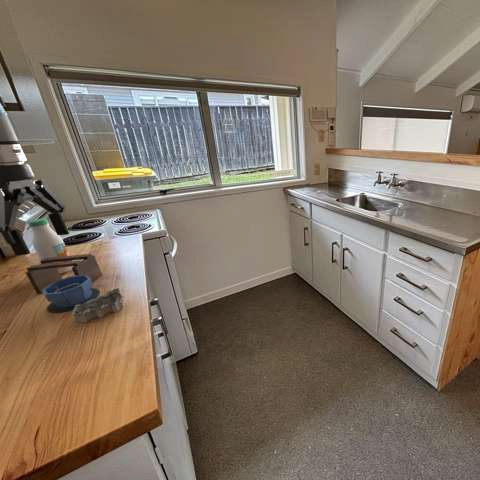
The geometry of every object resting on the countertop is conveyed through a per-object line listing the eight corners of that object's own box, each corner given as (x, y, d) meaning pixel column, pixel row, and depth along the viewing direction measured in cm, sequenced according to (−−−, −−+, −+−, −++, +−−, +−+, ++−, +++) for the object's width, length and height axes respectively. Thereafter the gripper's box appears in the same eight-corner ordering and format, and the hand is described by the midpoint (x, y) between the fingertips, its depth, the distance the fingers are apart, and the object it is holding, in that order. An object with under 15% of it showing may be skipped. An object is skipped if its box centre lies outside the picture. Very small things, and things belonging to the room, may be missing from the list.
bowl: (41, 312, 73) (32, 296, 71) (68, 291, 82) (60, 277, 80) (81, 307, 74) (73, 291, 72) (103, 287, 83) (96, 273, 81)
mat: (35, 315, 72) (35, 314, 72) (67, 291, 83) (67, 290, 83) (83, 309, 73) (82, 308, 73) (108, 286, 84) (107, 286, 84)
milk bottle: (56, 277, 92) (29, 224, 84) (43, 274, 94) (15, 223, 87) (80, 266, 99) (57, 217, 91) (67, 264, 101) (44, 216, 93)
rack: (37, 294, 82) (23, 269, 79) (58, 279, 90) (47, 256, 87) (85, 288, 84) (74, 264, 80) (102, 274, 92) (92, 252, 89)
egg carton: (125, 298, 78) (120, 286, 77) (124, 311, 72) (119, 298, 71) (79, 311, 73) (73, 299, 71) (74, 326, 67) (67, 313, 65)
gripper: (-32, 169, 52) (19, 262, 60) (62, 158, 74) (89, 227, 83) (-76, 171, 51) (-18, 266, 59) (32, 159, 73) (63, 229, 82)
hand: (45, 243), depth 71 cm, fingers open, 13 cm apart
